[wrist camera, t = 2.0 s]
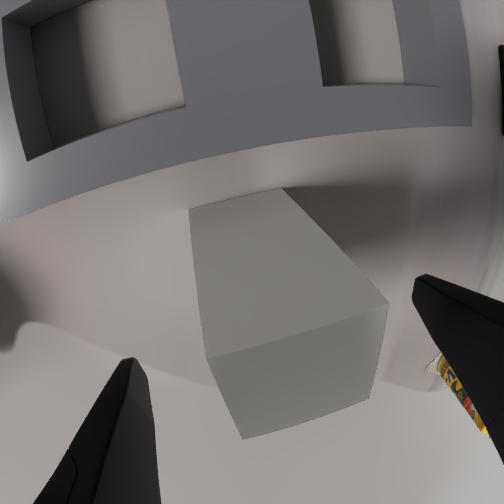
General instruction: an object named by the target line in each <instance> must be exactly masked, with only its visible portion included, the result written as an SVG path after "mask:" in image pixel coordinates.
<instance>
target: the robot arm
mask: <svg viewBox="0 0 504 504" xmlns="http://www.w3.org/2000/svg"><path fill="white" fill-rule="evenodd" d="M499 56H500V66H501V79H502V134H503V136H504V45H500V46H499ZM412 302H413V304H414V306H415V308H416V309H417V311H418V313H419V315H420V317H421V319H422V320H423V322H424V324H425V326H426V328H427V330H428V332H429V334H430V335H431V337H432V339H433V340H434V342H435V344H436V345H437V347H438V348H439V350H440V351H441V353H442V354H443V356H444V357H445V359H446V361H447V362H448V364H449V365H450V367H451V369H452V370H453V372H454V373H455V375H456V377H457V378H458V380H459V382H460V383H461V385H462V387H463V388H464V390H465V392H466V393H467V395H468V397H469V399H470V400H471V402H472V404H473V406H474V407H475V409H476V411H477V413H478V415H479V416H480V418H481V420H482V422H483V424H484V426H485V427H486V430H487V432H488V433H489V435H490V437H491V439H492V441H493V443H494V445H495V447H496V449H497V451H498V453H499V455H500V457H501V460H502V462H503V464H504V303H503V302H501V301H498V300H495V299H493V298H490V297H488V296H485V295H482V294H480V293H477V292H474V291H472V290H469V289H466V288H464V287H461V286H458V285H456V284H453V283H450V282H448V281H445V280H442V279H439V278H437V277H434V276H431V275H428V274H424V275H421V276H419V277H417V278H416V279H415V282H414V287H413V293H412ZM33 504H161V498H160V488H159V479H158V469H157V455H156V441H155V425H154V418H153V412H152V405H151V399H150V392H149V385H148V379H147V376H146V374H145V372H144V370H143V369H142V367H141V366H140V364H139V362H138V361H137V359H136V358H134V357H131V358H126V359H122V360H121V361H120V363H119V364H118V366H117V368H116V369H115V371H114V372H113V374H112V376H111V377H110V379H109V380H108V382H107V384H106V385H105V387H104V389H103V390H102V392H101V394H100V395H99V397H98V398H97V400H96V402H95V403H94V405H93V407H92V408H91V410H90V412H89V413H88V415H87V417H86V418H85V420H84V422H83V423H82V425H81V427H80V429H79V430H78V432H77V434H76V435H75V437H74V439H73V441H72V442H71V444H70V446H69V449H67V451H66V453H65V455H64V456H63V458H62V460H61V462H60V463H59V465H58V467H57V468H56V470H55V472H54V473H53V475H52V476H51V478H50V479H49V481H48V482H47V484H46V485H45V487H44V488H43V490H42V491H41V493H40V494H39V496H38V497H37V498H36V500H35V502H34V503H33Z"/></svg>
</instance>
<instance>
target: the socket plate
mask: <svg viewBox="0 0 504 504" xmlns="http://www.w3.org/2000/svg"><path fill="white" fill-rule="evenodd" d="M88 1H91V0H0V225H2V224H5V223H7V222H9V221H11V220H14V219H16V218H19V217H21V216H23V215H26V214H28V213H31V212H33V211H36V210H38V209H41V208H43V207H46V206H49V205H51V204H54V203H56V202H59V201H62V200H65V199H67V198H70V197H73V196H76V195H79V194H81V193H84V192H87V191H90V190H93V189H96V188H99V187H102V186H105V185H109V184H112V183H115V182H118V181H121V180H125V179H128V178H131V177H135V176H138V175H142V174H145V173H149V172H152V171H156V170H159V169H163V168H167V167H171V166H175V165H178V164H182V163H186V162H190V161H195V160H199V159H203V158H207V157H212V156H216V155H221V154H225V153H230V152H235V151H239V150H244V149H249V148H255V147H260V146H265V145H271V144H276V143H282V142H288V141H294V140H301V139H307V138H314V137H321V136H329V135H337V134H345V133H354V132H363V131H373V130H385V129H397V128H413V127H434V126H471V86H470V71H469V60H468V51H467V43H466V36H465V30H464V24H463V18H462V13H461V8H460V3H459V0H393V5H394V10H395V16H396V21H397V27H398V33H399V40H400V47H401V54H402V63H403V72H404V83H405V84H396V83H356V84H331V85H323V83H322V75H321V68H320V61H319V55H318V48H317V42H316V36H315V30H314V25H313V19H312V14H311V9H310V3H309V0H166V3H167V9H168V15H169V20H170V26H171V32H172V37H173V43H174V48H175V54H176V59H177V64H178V70H179V75H180V80H181V85H182V90H183V95H184V100H185V105H186V106H181V107H177V108H173V109H169V110H165V111H161V112H158V113H154V114H150V115H147V116H143V117H140V118H136V119H133V120H130V121H127V122H123V123H120V124H117V125H114V126H111V127H108V128H105V129H102V130H99V131H96V132H94V133H91V134H88V135H85V136H83V137H80V138H77V139H75V140H72V141H70V142H67V143H65V144H62V145H60V146H57V147H55V148H53V145H52V142H51V138H50V134H49V130H48V126H47V122H46V118H45V114H44V109H43V105H42V100H41V95H40V90H39V85H38V80H37V74H36V68H35V61H34V54H33V47H32V38H31V29H30V27H32V26H34V25H36V24H38V23H40V22H42V21H44V20H46V19H48V18H50V17H52V16H55V15H57V14H59V13H61V12H63V11H66V10H68V9H70V8H73V7H75V6H78V5H80V4H83V3H85V2H88Z"/></svg>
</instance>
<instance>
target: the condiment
mask: <svg viewBox="0 0 504 504" xmlns="http://www.w3.org/2000/svg"><path fill="white" fill-rule="evenodd" d="M424 372H427V373H433V374H437V375H441V376H442V378H443V379H444V380H445V382H446V383H447V385H448V386H449V387H450V389H451V391H453V393H454V394H455V396H456V397H457V398H458V400H459V401H460V403H461V404H462V406H463V407H464V408H465V409H466V411H467V412H468V413H469V415H470V416H471V418H472V419H473V420H474V422H475V423H476V425H477V427H478V428H479V429H480V431H481V432H483V433H488V432H487V430H486V427H485V426H484V424H483V422H482V420H481V418H480V416H479V415H478V413H477V411H476V409H475V407H474V406H473V404H472V402H471V400H470V399H469V397H468V395H467V393H466V392H465V390H464V388H463V387H462V385H461V383H460V382H459V380H458V378H457V377H456V375H455V373H454V372H453V370H452V369H451V367H450V365H449V364H448V362H447V361H446V359H445V357H444V356H443V354H442V353H440V354H439V355H438V356H437V357H436V358H435V359H434V361H433V362H431V363H430V365H429V366H428V367H427V368H426V369H425V371H424ZM488 434H489V433H488ZM489 438H490V439H491V437H490V435H489Z"/></svg>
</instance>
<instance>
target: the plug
mask: <svg viewBox="0 0 504 504" xmlns="http://www.w3.org/2000/svg"><path fill="white" fill-rule="evenodd" d="M189 221H190V232H191V242H192V252H193V261H194V270H195V279H196V287H197V295H198V303H199V311H200V318H201V326H202V333H203V340H204V346H205V353H206V359H207V361H208V364H209V366H210V368H211V371H212V373H213V376H214V378H215V380H216V383H217V385H218V387H219V389H220V392H221V394H222V396H223V398H224V401H225V403H226V405H227V407H228V410H229V412H230V414H231V416H232V418H233V420H234V422H235V425H236V427H237V429H238V431H239V433H240V435H241V437H242V439H247V438H251V437H255V436H259V435H263V434H267V433H271V432H274V431H278V430H281V429H285V428H288V427H292V426H295V425H298V424H301V423H304V422H307V421H310V420H313V419H316V418H319V417H322V416H325V415H328V414H330V413H333V412H336V411H339V410H341V409H344V408H346V407H349V406H352V405H354V404H357V403H359V402H361V401H364V400H366V399H369V397H370V393H371V389H372V385H373V381H374V377H375V373H376V369H377V364H378V360H379V355H380V351H381V346H382V341H383V336H384V331H385V326H386V320H387V314H388V308H389V302H388V301H387V300H386V298H385V297H384V296H383V295H382V294H381V293H380V292H379V290H378V289H377V288H376V287H375V286H374V285H373V284H372V283H371V281H370V280H369V279H368V278H367V277H366V276H365V275H364V274H363V273H362V271H361V270H360V269H359V268H358V267H357V266H356V265H355V264H354V263H353V262H352V260H351V259H350V258H349V257H348V256H347V255H346V254H345V253H344V252H343V251H342V250H341V249H340V248H339V247H338V245H337V244H336V243H335V242H334V241H333V240H332V239H331V238H330V237H329V236H328V235H327V234H326V233H325V232H324V231H323V230H322V229H321V228H320V227H319V226H318V225H317V223H316V222H315V221H314V220H313V219H312V218H311V217H310V216H309V215H308V214H307V213H306V212H305V211H304V210H303V209H302V208H301V207H300V206H299V205H298V204H297V203H296V202H295V201H294V200H293V199H292V198H291V197H290V196H289V195H288V194H287V193H286V192H285V191H284V190H283V189H282V188H280V189H275V190H270V191H266V192H261V193H256V194H252V195H247V196H243V197H239V198H234V199H230V200H226V201H222V202H217V203H213V204H209V205H205V206H201V207H197V208H193V209H189Z"/></svg>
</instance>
